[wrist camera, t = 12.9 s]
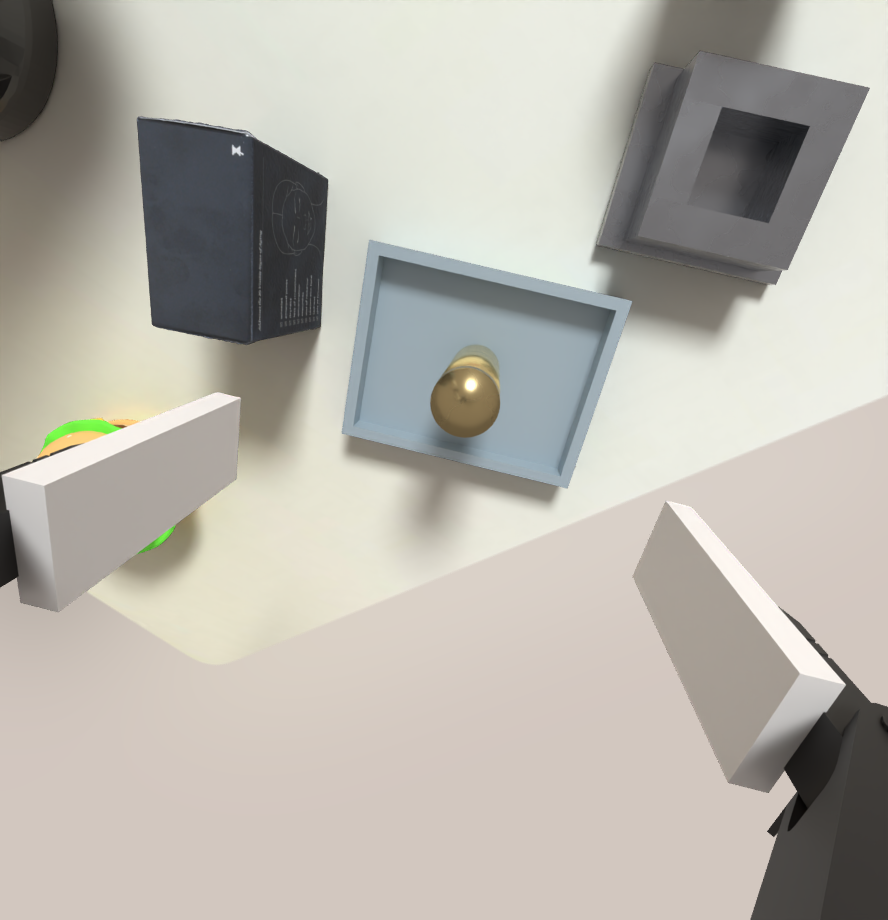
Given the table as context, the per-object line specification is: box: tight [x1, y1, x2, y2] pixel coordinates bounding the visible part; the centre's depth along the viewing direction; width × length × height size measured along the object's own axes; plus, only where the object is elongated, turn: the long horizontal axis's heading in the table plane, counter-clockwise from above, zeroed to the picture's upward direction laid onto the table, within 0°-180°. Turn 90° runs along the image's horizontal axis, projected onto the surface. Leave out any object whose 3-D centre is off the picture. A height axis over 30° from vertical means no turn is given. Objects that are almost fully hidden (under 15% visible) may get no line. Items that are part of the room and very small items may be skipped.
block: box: [596, 51, 870, 285], centre depth 28 cm, size 12×10×4 cm
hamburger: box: [36, 418, 175, 554], centre depth 39 cm, size 12×12×9 cm
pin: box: [430, 345, 500, 438], centre depth 30 cm, size 4×4×12 cm
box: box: [137, 117, 328, 345], centre depth 30 cm, size 11×7×10 cm, turn 171°
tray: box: [342, 240, 632, 488], centre depth 35 cm, size 18×14×2 cm
